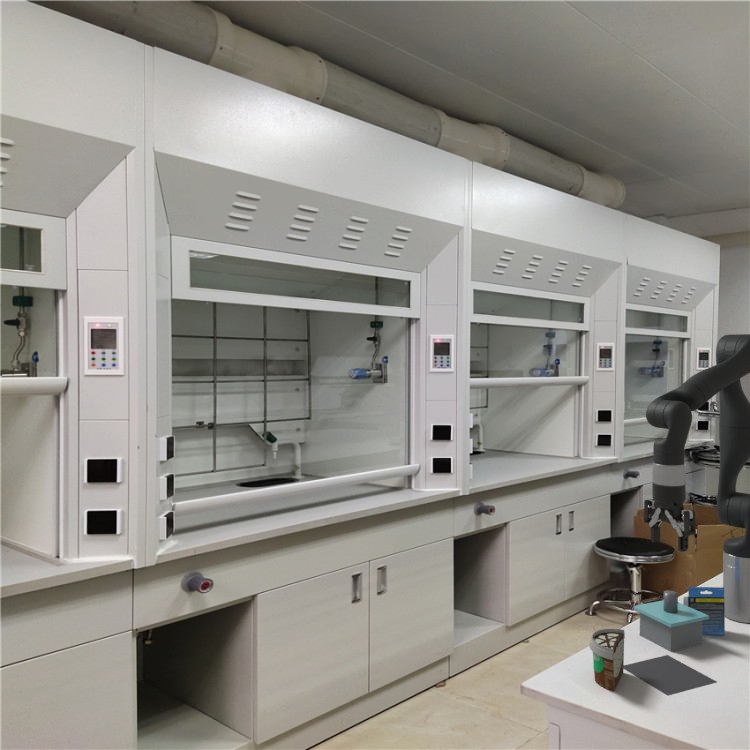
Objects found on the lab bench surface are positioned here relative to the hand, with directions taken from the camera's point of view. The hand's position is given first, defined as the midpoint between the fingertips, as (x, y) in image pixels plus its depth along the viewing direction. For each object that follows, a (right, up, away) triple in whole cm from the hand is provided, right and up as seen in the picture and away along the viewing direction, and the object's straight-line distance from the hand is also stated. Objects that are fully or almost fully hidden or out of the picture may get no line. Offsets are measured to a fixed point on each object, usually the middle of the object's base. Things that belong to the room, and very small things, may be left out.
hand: (668, 546), depth 170 cm
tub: (0, -23, -1) cm, 23 cm away
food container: (-22, -25, -19) cm, 39 cm away
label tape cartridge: (+11, -23, +5) cm, 26 cm away
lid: (0, -16, -1) cm, 16 cm away
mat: (-8, -24, -18) cm, 31 cm away
